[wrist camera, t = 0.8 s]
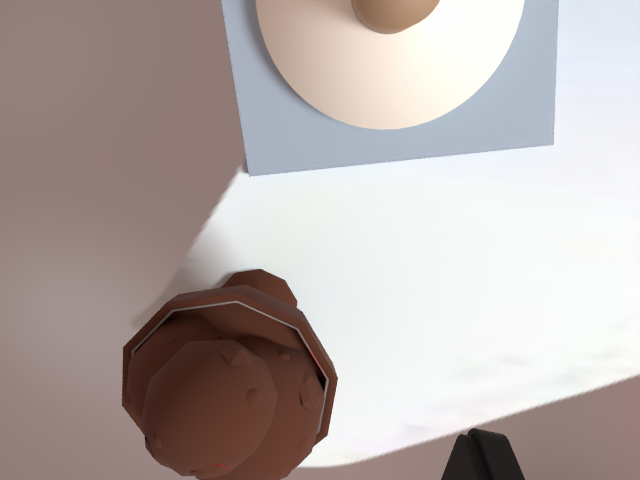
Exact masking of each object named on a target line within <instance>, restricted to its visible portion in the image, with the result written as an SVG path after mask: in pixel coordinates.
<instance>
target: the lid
mask: <svg viewBox="0 0 640 480" xmlns="http://www.w3.org/2000/svg"><path fill="white" fill-rule="evenodd" d="M523 6H524V0H256V10H257V15H258V20H259V25H260V29H261V32H262V35H263V38H264V41H265V44H266V47H267V49H268V51H269V53H270V55H271V58H272V60H273V62H274V63H275V65H276V67H277V68H278V70H279V71H280V73H281V75H282V76H283V77H284V79H285V80H286V81H287V82H288V84H289V85H290V86H291V87H292V88H293V90H294V91H295V92H296V93H298V94H299V95H300V96H301V97H302V98H303V99H304V100H305V101H306V102H307V103H309V104H310V105H312V106H313V107H314V108H316V109H317V110H319V111H320V112H322V113H324V114H326V115H328V116H329V117H331V118H333V119H335V120H338V121H341V122H344V123H346V124H349V125H353V126H357V127H362V128H368V129H379V130H387V129H401V128H406V127H412V126H416V125H419V124H423V123H426V122H429V121H431V120H434V119H436V118H438V117H440V116H442V115H445V114H446V113H448V112H450V111H451V110H453V109H455V108H456V107H458V106H459V105H461V104H462V103H463V102H465V101H466V100H467V99H468V98H470V97H471V96H472V95H473V94H475V92H476V91H477V90H478V89H479V88H480V87H481V86H482V85H483V84H484V83H485V82H486V81H487V80H488V79H489V78H490V76H491V75H492V74H493V72H494V71H495V70H496V68H497V67H498V66H499V64H500V62H501V61H502V59H503V57H504V56H505V54H506V52H507V51H508V49H509V47H510V44H511V42H512V40H513V38H514V36H515V33H516V31H517V28H518V24H519V21H520V18H521V15H522V11H523Z"/></svg>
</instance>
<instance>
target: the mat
mask: <svg viewBox="0 0 640 480" xmlns="http://www.w3.org/2000/svg"><path fill="white" fill-rule="evenodd" d="M558 2H559V0H524V6H523V11H522V15H521V18H520V21H519V24H518V28H517V31H516V33H515V36H514V38H513V40H512V42H511V44H510V47H509V49H508V51H507V52H506V54H505V56H504V57H503V59H502V61H501V62H500V64H499V66H498V67H497V68H496V70H495V71H494V72H493V74H492V75H491V76H490V78H489V79H488V80H487V81H486V82H485V83H484V84H483V85H482V86H481V87H480V88H479V89H478V90H477V91H476V92H475V94H473V95H472V96H471V97H470V98H468V99H467V100H466V101H465V102H463V103H462V104H461V105H459V106H458V107H456V108H455V109H453V110H451V111H450V112H448V113H446V114H445V115H442V116H440V117H438V118H436V119H434V120H431V121H429V122H426V123H423V124H419V125H416V126H412V127H406V128H401V129H387V130H379V129H368V128H362V127H357V126H353V125H349V124H346V123H344V122H341V121H338V120H335V119H333V118H331V117H329V116H328V115H326V114H324V113H322V112H320V111H319V110H317V109H316V108H314V107H313V106H312V105H310V104H309V103H307V102H306V101H305V100H304V99H303V98H302V97H301V96H300V95H299V94H298V93H296V92H295V91H294V90H293V88H292V87H291V86H290V85H289V84H288V82H287V81H286V80H285V79H284V77H283V76H282V75H281V73H280V71H279V70H278V68H277V67H276V65H275V63H274V62H273V60H272V58H271V55H270V53H269V51H268V49H267V47H266V44H265V41H264V38H263V35H262V32H261V29H260V25H259V20H258V15H257V10H256V0H221V4H222V10H223V16H224V23H225V28H226V35H227V41H228V48H229V54H230V60H231V66H232V72H233V79H234V85H235V91H236V97H237V103H238V110H239V116H240V123H241V129H242V135H243V141H244V147H245V154H246V160H247V166H248V172H249V176H259V175H268V174H278V173H287V172H297V171H306V170H316V169H326V168H335V167H345V166H354V165H364V164H374V163H383V162H393V161H402V160H412V159H421V158H431V157H441V156H450V155H460V154H469V153H479V152H488V151H498V150H508V149H517V148H527V147H536V146H546V145H553V143H554V115H555V86H556V58H557V30H558Z"/></svg>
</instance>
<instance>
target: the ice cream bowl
mask: <svg viewBox="0 0 640 480" xmlns="http://www.w3.org/2000/svg"><path fill="white" fill-rule="evenodd" d="M296 307H297V300H296V298H295V297H294V295H293V293H292V292H291V290H290V288H289V287H288V285H287V283H286V281H285V280H283V279H281V278H279V277H277V276H274V275H272V274H270V273H268V272H266V271H264V270H262V269H260V270H253V271H246V272H239V273H235V274H234V275H233V276H232V277H231V278H230V279H229V280H228V281H227V282H226V283H225V284H224V285H223V286H222V287H221V288H218V289H211V290H204V291H197V292H190V293H184V294H179V295H177V296H176V297H174V298H173V299H171V300H170V301H168V302H167V303H166V304H165V305H164V306H163V307H162V308H161V309H160V310H159V311H158V312H157V313H156V314H155V315H154V316H153V317H152V318H151V319H150V320H149V321H148V322H147V323H146V324H145V325H144V326H143V327H142V329H141V330H140V331H139V332H138V333H137V334H136V335H135V336H134V337H133V338H132V339H131V340H130V341H129V342H128V343H127V344H126V345H125V346H124V347H123V385H122V406H123V407H124V409H125V410H126V411H127V413H128V414H129V415H130V417H131V418H132V419H133V421H134V422H135V423H136V424H137V426H138V427H139V428H140V430H141V431H142V432H143V434H144V435H145V444H146V448H147V450H148V451H149V452H150V454H151V455H152V457H153V458H154V459H155V460H156V461H157V462H159V463H160V464H161V465H163V466H166V467H169V468H171V469H173V470H174V471H175V472H177V473H178V474H180V475H181V476H196V478H197V479H199V480H280V479H281V478H284V477H287V476H288V474H289V473H290V472H291V470H293V469H294V468H295V467H297V466H298V465H299V464H300V463H301V462H302V461H303V460H304V459H305V458H306V457H307V456H308V455H309V454H310V453H311V452H312V448H313V447H314V446H315V445H316V444H317V443H318V442H320V441H321V440H322V439H323V438H325V437H326V436H327V435H328V429H329V424H330V419H331V413H332V408H333V402H334V397H335V391H336V386H337V380H338V378H337V375H336V372H335V369H334V366H333V363H332V361H331V359H330V358H329V356H328V354H327V353H326V351H325V349H324V348H323V346H322V344H321V343H320V341H319V339H318V337H317V336H316V334H315V332H314V331H313V329H312V327H311V326H310V324H309V322H308V321H307V319H306V317H305V315H304V314H303V312H302V311H300V310H299V309H297V308H296Z"/></svg>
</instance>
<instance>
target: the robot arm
mask: <svg viewBox="0 0 640 480" xmlns="http://www.w3.org/2000/svg"><path fill="white" fill-rule="evenodd" d="M441 480H525V478H524V476H523V474H522V471H521V469H520V466H519V464H518V462H517V459H516V457H515V455H514V452H513V450H512V447H511V445H510V443H509V440H508V439H507V437H506V436H505V435H503V434H499V433H494V432H489V431H485V430H480V429H475V428H473V429H471V430H470V431H469V432H468V434H467V435H463V434H461V435H459V436H458V438H457V440H456V442H455V445H454V447H453V450H452V453H451V455H450V458H449V461H448V463H447V466H446V468H445V471H444V473H443V476H442V479H441Z"/></svg>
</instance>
